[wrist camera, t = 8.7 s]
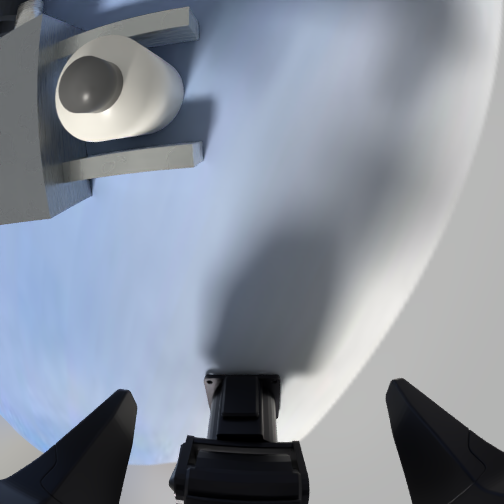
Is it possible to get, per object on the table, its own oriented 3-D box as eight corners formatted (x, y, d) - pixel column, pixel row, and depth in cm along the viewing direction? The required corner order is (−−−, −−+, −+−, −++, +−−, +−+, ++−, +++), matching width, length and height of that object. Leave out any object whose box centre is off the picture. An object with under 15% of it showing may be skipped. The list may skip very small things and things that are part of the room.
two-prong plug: (205, 185, 18) (188, 207, 13) (24, 205, 18) (-17, 227, 14) (199, -31, 12) (184, -70, 7) (18, 29, 12) (-23, 21, 8)
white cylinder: (185, 130, 17) (141, 134, 10) (111, 140, 17) (39, 154, 10) (183, 53, 15) (140, 12, 8) (108, 67, 15) (38, 48, 8)
